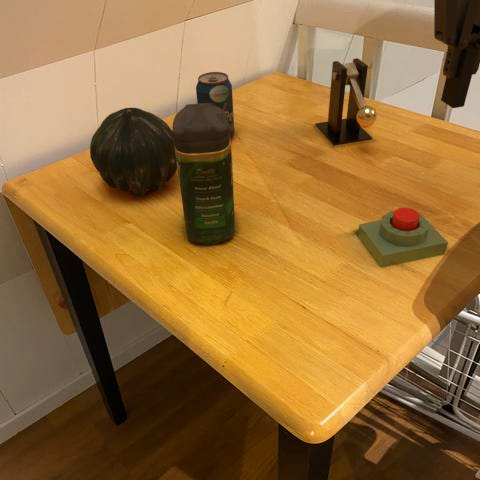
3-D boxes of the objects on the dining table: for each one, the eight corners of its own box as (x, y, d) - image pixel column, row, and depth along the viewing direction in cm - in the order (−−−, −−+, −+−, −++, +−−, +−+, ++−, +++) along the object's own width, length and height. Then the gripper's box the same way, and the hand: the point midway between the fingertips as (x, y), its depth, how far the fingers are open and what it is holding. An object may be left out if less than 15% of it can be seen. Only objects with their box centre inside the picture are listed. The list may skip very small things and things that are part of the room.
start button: (409, 215, 71) (412, 205, 70) (422, 229, 69) (424, 218, 68) (386, 220, 71) (389, 209, 70) (398, 234, 68) (401, 223, 67)
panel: (416, 224, 76) (422, 202, 73) (444, 254, 70) (451, 231, 67) (357, 236, 74) (360, 213, 72) (380, 267, 69) (385, 244, 66)
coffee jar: (237, 244, 74) (230, 125, 61) (186, 248, 74) (168, 129, 61) (234, 210, 81) (227, 95, 68) (186, 213, 81) (170, 99, 68)
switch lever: (376, 130, 88) (382, 115, 84) (357, 133, 87) (363, 118, 84) (353, 74, 92) (358, 58, 88) (335, 77, 91) (340, 61, 88)
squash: (122, 127, 93) (83, 85, 78) (196, 136, 90) (169, 95, 75) (107, 199, 93) (64, 171, 78) (180, 211, 90) (150, 184, 75)
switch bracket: (371, 144, 95) (383, 69, 85) (333, 151, 94) (340, 75, 84) (350, 124, 102) (359, 52, 92) (314, 129, 101) (319, 57, 91)
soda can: (234, 145, 98) (231, 83, 89) (200, 147, 98) (193, 84, 89) (234, 130, 102) (231, 69, 94) (202, 132, 103) (195, 71, 94)
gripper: (478, -159, 40) (419, 124, 57) (614, -172, 42) (518, 106, 59) (430, -159, 45) (389, 100, 62) (553, -171, 47) (481, 84, 64)
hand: (452, 103), depth 60 cm, fingers closed
